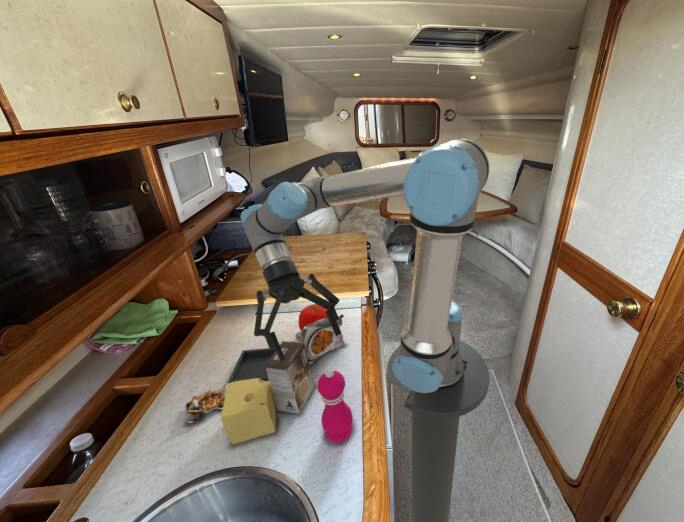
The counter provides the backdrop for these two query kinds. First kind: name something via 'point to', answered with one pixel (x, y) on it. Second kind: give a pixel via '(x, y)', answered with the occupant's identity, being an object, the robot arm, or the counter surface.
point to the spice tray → (251, 365)
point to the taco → (205, 404)
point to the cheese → (248, 410)
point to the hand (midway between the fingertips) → (312, 347)
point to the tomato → (311, 315)
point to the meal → (320, 338)
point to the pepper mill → (334, 406)
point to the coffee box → (290, 377)
